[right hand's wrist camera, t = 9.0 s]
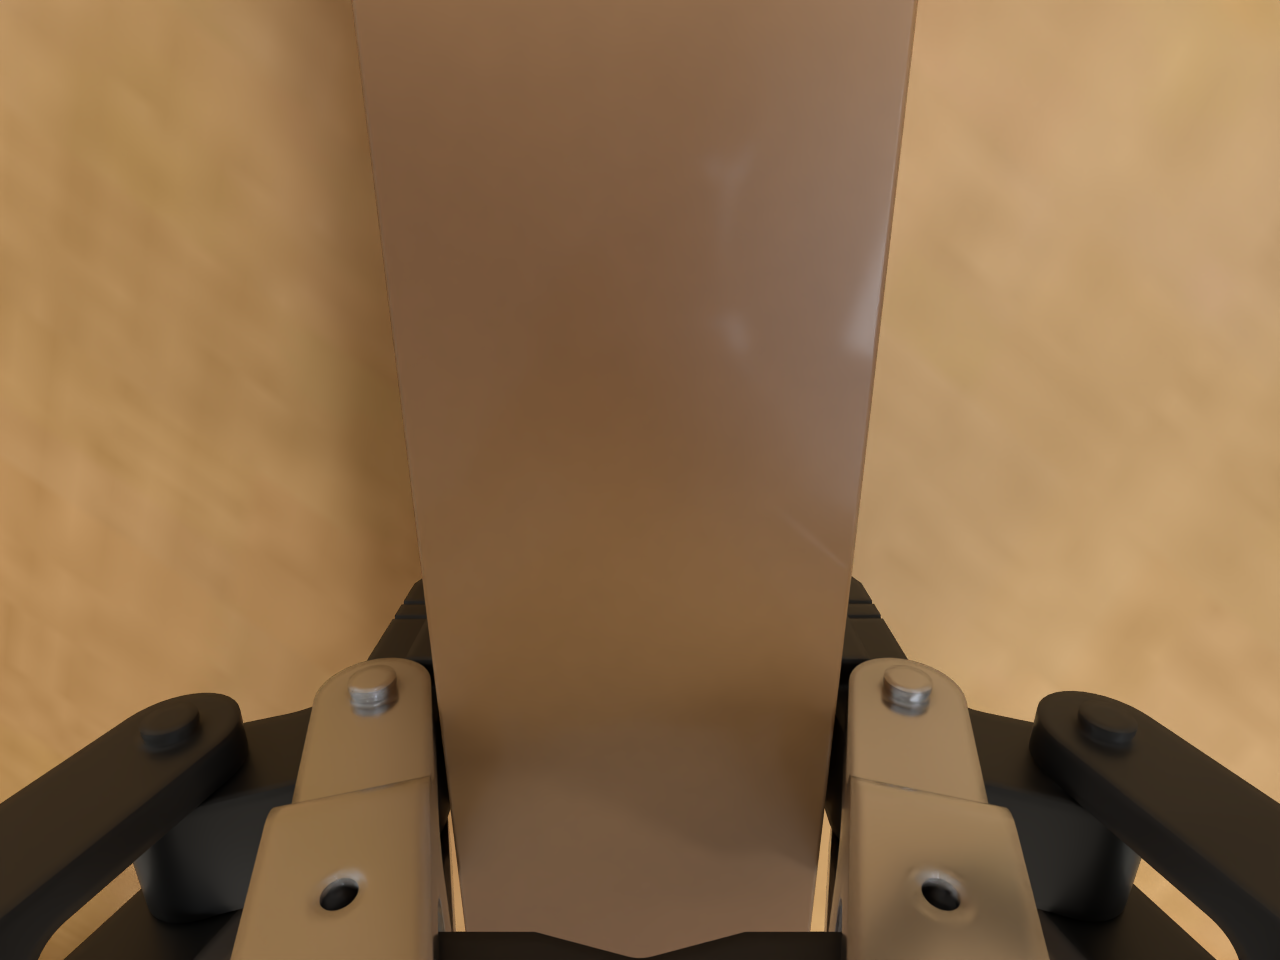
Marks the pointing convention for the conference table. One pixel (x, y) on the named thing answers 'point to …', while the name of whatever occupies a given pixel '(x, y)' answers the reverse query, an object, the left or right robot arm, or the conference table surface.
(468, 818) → the post
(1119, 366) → the conference table surface
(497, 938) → the right robot arm
